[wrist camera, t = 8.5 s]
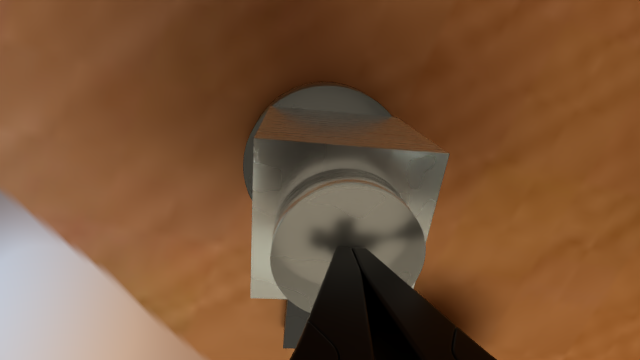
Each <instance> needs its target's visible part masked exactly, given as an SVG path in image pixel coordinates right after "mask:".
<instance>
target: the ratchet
mask: <svg viewBox="0 0 640 360" xmlns="http://www.w3.org/2000/svg"><path fill="white" fill-rule="evenodd" d="M270 106H277V107H288V108H299V109H310V110H321V111H333V112H344V113H355V114H366V115H377V116H388V117H392V116H391V115H390V114H389V112H388V111H387V110H386V109H385V108H384V107H383V106H381V105H380V104H379V103H378V102H376V101H375V100H373V99H372V98H370V97H369V96H367V95H366V94H364V93H363V92H361V91H359V90H357V89H355V88H353V87H350V86H347V85H344V84H340V83H334V82H316V83H309V84H305V85H301V86H298V87H296V88H293V89H291V90H289V91H287V92H286V93H284V94H282V95H281V96H279V97H278V98H277V99H275V100H274V101H273V102H272V103H271V104H270V105H269V106H268V107H267V108H266V110H265V111H264V112H263V113H262V115H261V116H260V118H259V120H258V121H257V123H256V125H255V127H254V128H253V130H252V132H251V134H250V136H249V139H248V141H247V144H246V148H245V153H244V161H243V171H244V179H245V184H246V187H247V190H248V193H249V195H250V197H251V199H252V198H253V148H254V136H255V135H256V133H257V131H258V129H259V127H260V125H261V123H262V121H263V119H264V117H265V115H266V113H267V111H268V109H269V107H270ZM309 315H310V313H309V312H307V311H304V310H303V309H301V308H299V307H297V306H296V305H295V304H293V303H292V302H291V301H289V300H288V299H287V303H286V314H285V325H284V342H283V348H296V346H297V344H298V341H299V339H300V337H301V335H302V332H303V330H304V327H305V325H306V323H307V320H308V318H309Z"/></svg>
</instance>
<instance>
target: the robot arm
mask: <svg viewBox="0 0 640 360" xmlns="http://www.w3.org/2000/svg"><path fill="white" fill-rule="evenodd" d="M290 360H497V359H495V358H494V357H493V356H491V355H490V354H489V353H488V352H487V351H485V350H484V349H483V348H482V347H481V346H479V345H478V344H477V343H476V342H475V341H473V340H472V339H471V338H470V337H469V336H467V335H466V334H465V333H464V332H463V331H462V330H461V329H459V328H458V327H457V328H456V326H455V324H453V323H452V322H451V321H450V320H449V319H448V318H446V317H445V316H444V315H443V314H442V313H441V312H440V311H438V310H437V309H436V308H435V307H434V306H433V305H431V304H430V303H429V302H428V301H427V300H426V299H424V298H423V297H422V296H421V295H420V294H419V293H418V292H416V291H415V290H414V289H413V288H412V287H411V286H409V285H408V284H407V283H406V282H405V281H404V280H402V279H401V278H400V277H399V276H398V275H397V274H396V273H394V272H393V271H392V270H391V269H390V268H389V267H387V266H386V265H385V264H384V263H383V262H382V261H380V260H379V259H378V258H377V257H376V256H375V255H374V254H372V253H371V252H370V251H369V250H368V249H366V248H358V247H353V248H352V249H351V248H350V247H341V246H338V247H336V249H335V252H334V254H333V257H332V259H331V262H330V264H329V267H328V270H327V272H326V275H325V277H324V280H323V282H322V285H321V287H320V290H319V292H318V295H317V297H316V300H315V302H314V305H313V307H312V310H311V313H310V315H309V318H308V320H307V323H306V325H305V327H304V330H303V332H302V335H301V337H300V339H299V341H298V344H297V346H296V348H295V350H294V352H293V354H292V356H291V358H290Z"/></svg>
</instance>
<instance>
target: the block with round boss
mask: <svg viewBox="0 0 640 360" xmlns="http://www.w3.org/2000/svg"><path fill="white" fill-rule="evenodd" d="M448 157H449V153H448V152H446V151H445V150H443V149H442V148H441V147H439V146H438V145H436V144H435V143H433V142H432V141H430V140H429V139H428V138H426V137H425V136H423V135H422V134H420V133H419V132H417V131H416V130H415V129H413V128H412V127H410V126H409V125H407V124H406V123H405V122H403V121H402V120H400V119H399V118H397V117H388V116H377V115H366V114H355V113H344V112H333V111H321V110H310V109H299V108H288V107H277V106H270V107H269V109H268V111H267V113H266V115H265V117H264V119H263V121H262V123H261V125H260V127H259V129H258V131H257V133H256V135H255V136H254V148H253V198H252V248H251V298H265V299H288V300H289V301H291V302H292V303H293V304H295V305H296V306H297V307H299V308H301V309H303V310H304V311H307V312H309V313H311V310H312V307H313V305H314V302H315V300H316V297H317V295H318V292H319V290H320V287H321V285H322V282H323V280H324V277H325V275H326V272H327V270H328V267H329V264H330V262H331V259H332V257H333V254H334V252H335V249H336V247H338V246H341V247H350V248H351V249H352V248H353V247H358V248H366V249H368V250H369V251H370V252H371V253H372V254H374V255H375V256H376V257H377V258H378V259H379V260H380V261H382V262H383V263H384V264H385V265H386V266H387V267H389V268H390V269H391V270H392V271H393V272H394V273H396V274H397V275H398V276H399V277H400V278H401V279H402V280H404V281H405V282H406V283H407V284H408V285H409V286H411V287H412V288H413V289H414V285H415V281H416V280H417V278H418V276H419V274H420V272H421V270H422V267H423V264H424V259H425V251H426V245H425V244H426V240H427V236H428V232H429V229H430V225H431V221H432V217H433V214H434V210H435V206H436V202H437V199H438V195H439V191H440V187H441V183H442V180H443V176H444V172H445V168H446V165H447V161H448Z"/></svg>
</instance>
